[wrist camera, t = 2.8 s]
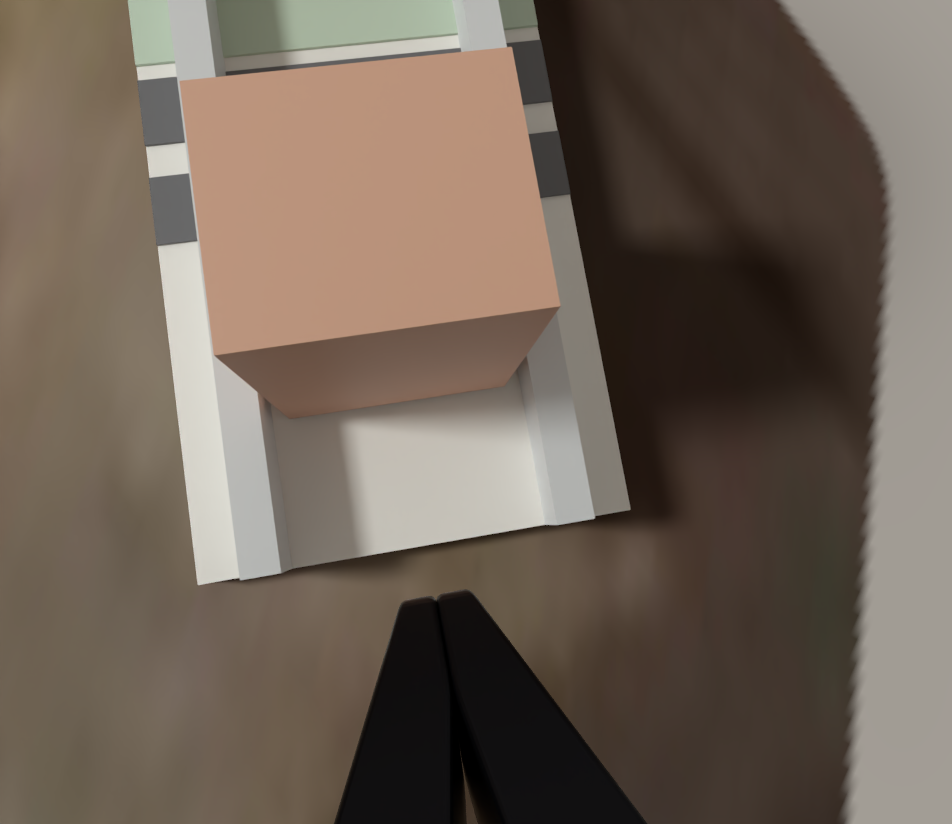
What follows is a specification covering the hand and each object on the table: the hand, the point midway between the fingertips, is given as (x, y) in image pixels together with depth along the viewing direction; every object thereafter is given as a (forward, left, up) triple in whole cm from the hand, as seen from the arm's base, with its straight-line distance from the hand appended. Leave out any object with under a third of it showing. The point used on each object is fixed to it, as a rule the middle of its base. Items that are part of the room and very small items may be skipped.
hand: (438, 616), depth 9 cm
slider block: (+6, -4, -11) cm, 13 cm away
